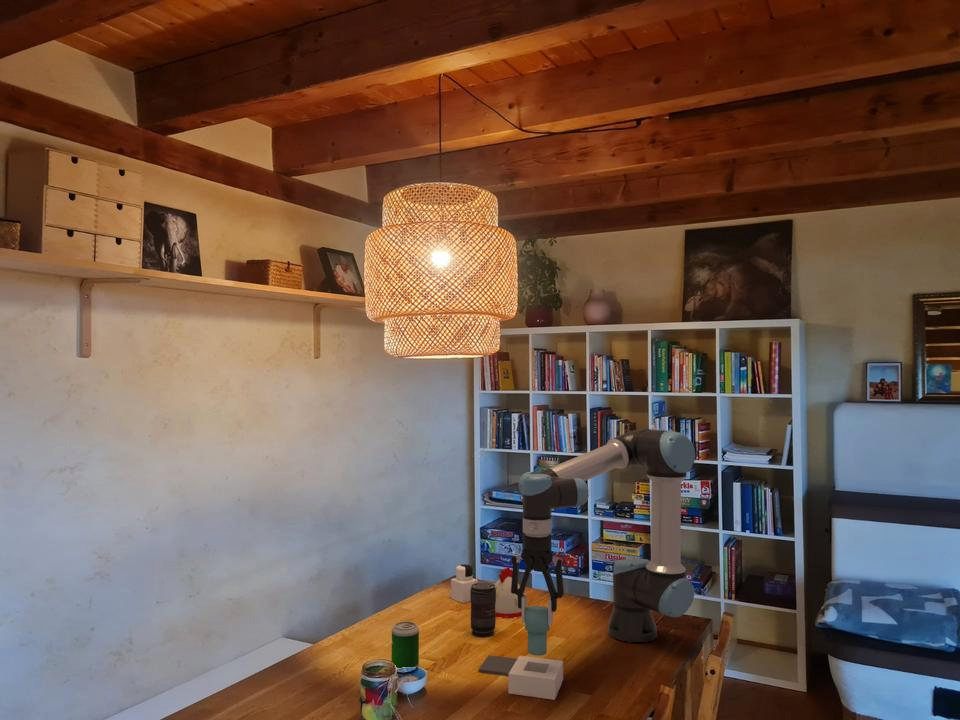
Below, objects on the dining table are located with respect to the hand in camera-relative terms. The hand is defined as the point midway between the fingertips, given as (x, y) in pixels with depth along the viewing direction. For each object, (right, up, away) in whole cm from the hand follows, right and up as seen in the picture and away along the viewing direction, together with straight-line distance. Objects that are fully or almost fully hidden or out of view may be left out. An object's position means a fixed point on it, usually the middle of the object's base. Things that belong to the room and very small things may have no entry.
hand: (537, 621), depth 185 cm
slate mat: (-9, -17, +11) cm, 22 cm away
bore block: (0, -17, -1) cm, 17 cm away
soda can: (-36, -17, +10) cm, 41 cm away
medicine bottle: (-21, -18, +70) cm, 75 cm away
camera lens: (-14, -17, +37) cm, 43 cm away
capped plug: (0, -8, -1) cm, 8 cm away
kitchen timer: (-6, -18, +57) cm, 60 cm away
